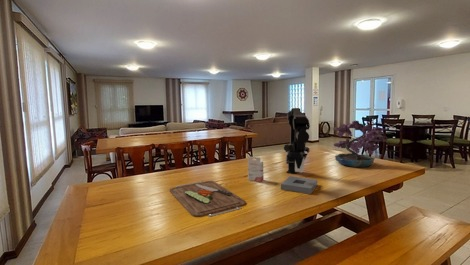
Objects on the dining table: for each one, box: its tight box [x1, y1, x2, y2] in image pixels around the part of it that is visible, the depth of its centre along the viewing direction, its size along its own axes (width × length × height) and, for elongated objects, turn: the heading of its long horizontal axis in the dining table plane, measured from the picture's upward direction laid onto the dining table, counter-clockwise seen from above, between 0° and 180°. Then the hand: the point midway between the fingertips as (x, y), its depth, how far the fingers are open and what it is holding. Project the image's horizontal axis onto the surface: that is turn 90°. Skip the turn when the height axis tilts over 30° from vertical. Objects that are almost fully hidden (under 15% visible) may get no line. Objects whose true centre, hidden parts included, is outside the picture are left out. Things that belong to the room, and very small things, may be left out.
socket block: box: [280, 175, 318, 195], centre depth 140 cm, size 16×16×3 cm
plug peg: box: [295, 156, 305, 173], centre depth 138 cm, size 4×4×8 cm
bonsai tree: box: [333, 120, 388, 168], centre depth 183 cm, size 35×27×33 cm
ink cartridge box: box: [247, 156, 265, 183], centre depth 153 cm, size 9×5×15 cm, turn 62°
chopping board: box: [168, 180, 247, 218], centre depth 129 cm, size 45×27×3 cm, turn 30°
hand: (299, 167), depth 139 cm, fingers closed on plug peg, 4 cm apart
